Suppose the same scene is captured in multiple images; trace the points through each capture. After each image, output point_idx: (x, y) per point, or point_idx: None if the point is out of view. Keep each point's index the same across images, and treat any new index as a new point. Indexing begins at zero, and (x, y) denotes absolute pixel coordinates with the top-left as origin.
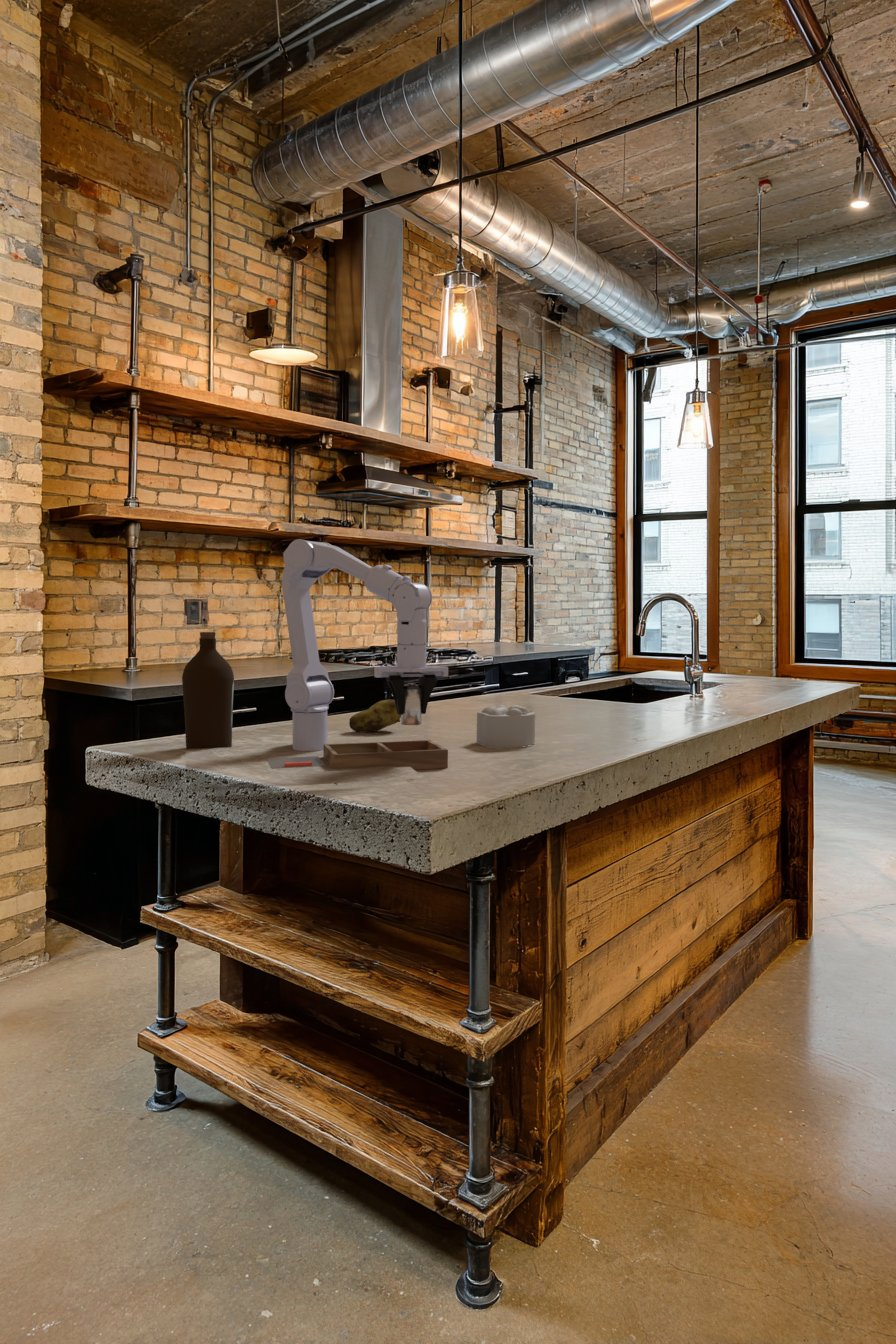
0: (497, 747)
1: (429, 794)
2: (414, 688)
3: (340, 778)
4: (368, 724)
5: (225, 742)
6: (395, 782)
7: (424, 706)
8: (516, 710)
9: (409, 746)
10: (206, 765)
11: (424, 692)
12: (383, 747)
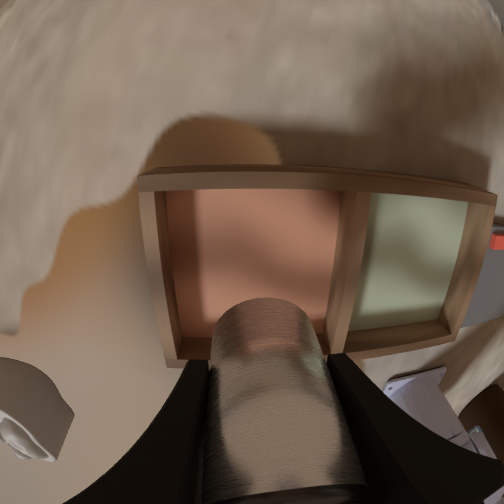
0: (33, 367)
1: None
2: (298, 495)
3: (467, 129)
4: None
5: (480, 403)
6: (369, 23)
7: (192, 385)
8: None
9: None
10: None
11: (184, 469)
12: (358, 277)
